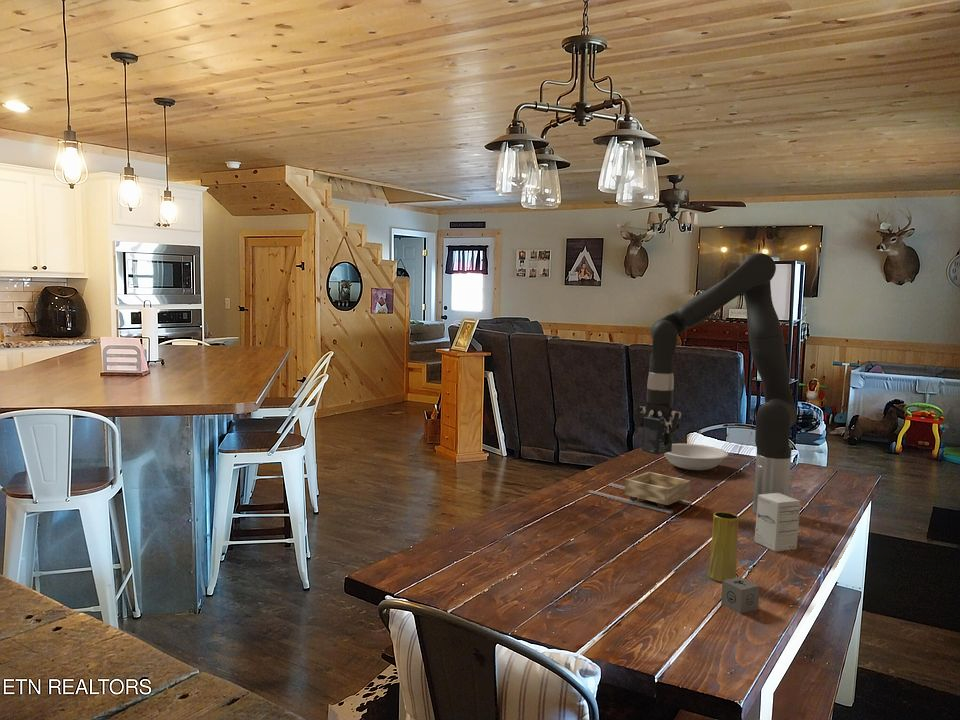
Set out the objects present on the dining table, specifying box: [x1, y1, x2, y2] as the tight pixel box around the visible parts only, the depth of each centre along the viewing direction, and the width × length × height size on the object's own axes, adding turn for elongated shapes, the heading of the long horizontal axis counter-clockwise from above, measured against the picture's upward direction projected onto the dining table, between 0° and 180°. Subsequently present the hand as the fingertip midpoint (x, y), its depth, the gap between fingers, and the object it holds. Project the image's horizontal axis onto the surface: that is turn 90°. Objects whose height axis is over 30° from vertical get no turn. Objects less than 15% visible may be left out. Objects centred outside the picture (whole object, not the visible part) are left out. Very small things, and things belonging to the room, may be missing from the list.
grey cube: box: [720, 576, 761, 615], centre depth 146 cm, size 5×5×5 cm
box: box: [641, 416, 674, 456], centre depth 215 cm, size 8×6×11 cm
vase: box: [707, 511, 739, 583], centre depth 160 cm, size 6×6×14 cm
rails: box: [587, 482, 693, 515], centre depth 221 cm, size 28×14×1 cm, turn 48°
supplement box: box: [754, 493, 802, 552], centre depth 182 cm, size 7×7×13 cm
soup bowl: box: [663, 443, 729, 471], centre depth 261 cm, size 24×24×7 cm
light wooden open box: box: [624, 471, 692, 508], centre depth 216 cm, size 14×14×6 cm
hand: (657, 443), depth 216 cm, fingers closed on box, 5 cm apart
